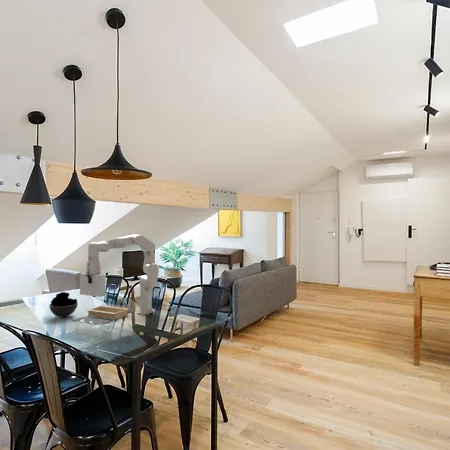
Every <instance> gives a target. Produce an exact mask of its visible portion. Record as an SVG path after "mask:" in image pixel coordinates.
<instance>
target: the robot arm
mask: <svg viewBox="0 0 450 450" xmlns="http://www.w3.org/2000/svg"><path fill="white" fill-rule="evenodd" d="M87 245H88V246H87V247H88V249H87V250H88V251H87V262H86V271H85V275H86V276H87V278H88V283H90V284H92V274H101V263H100V259H99V257H100V256H99V255H100V253H107V252H109V251H110V250H112V249H123V248H129V247H132V246H139V249H140V250H141V251H142V252H143V255H144V261H143V266H142V271H143V273H145V274H144V275H141V277H140V278H139V291H140V292H139V310H138V311H137V314H139V315H142V316H143V315H145V314H147V315H151V314H150V313H152V312H153V313H156V312H155V311H156V309H155V308H154V309H153V306H152V303H153V301H152V297H153V295H152V294H153V290H152V289H153V288H155V287H156V286H157V285H158V279H159V273H160V268H159V266H158V265H157V263H155V257H156V253H155V249H156V245H155V243H154V242H153V241H152V240H150V239H148V238H147V237H145V236H143V235H141V234H131V235H126V236H123V237H122V236H121V237H115V238H112V239H107V240H103V241H99V242H89V243H88V244H87ZM153 313H152V314H153Z"/></svg>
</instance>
